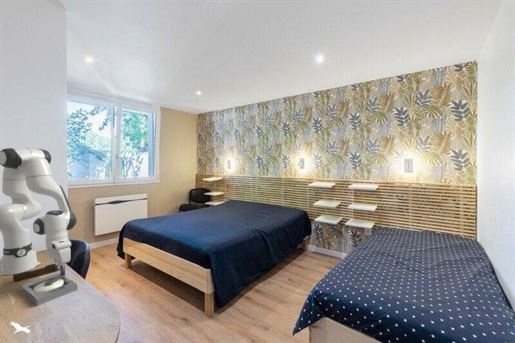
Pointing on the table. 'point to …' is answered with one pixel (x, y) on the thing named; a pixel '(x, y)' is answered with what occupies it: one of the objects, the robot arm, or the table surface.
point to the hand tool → (35, 272)
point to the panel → (49, 295)
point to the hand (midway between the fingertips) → (58, 267)
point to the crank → (51, 283)
